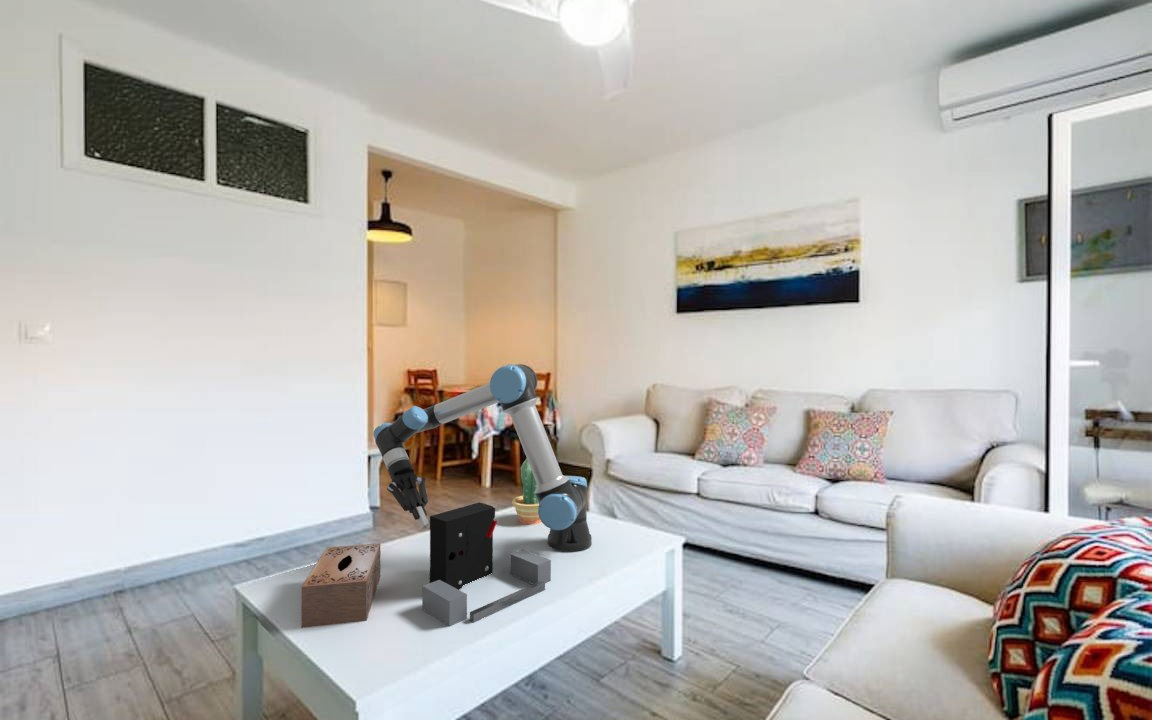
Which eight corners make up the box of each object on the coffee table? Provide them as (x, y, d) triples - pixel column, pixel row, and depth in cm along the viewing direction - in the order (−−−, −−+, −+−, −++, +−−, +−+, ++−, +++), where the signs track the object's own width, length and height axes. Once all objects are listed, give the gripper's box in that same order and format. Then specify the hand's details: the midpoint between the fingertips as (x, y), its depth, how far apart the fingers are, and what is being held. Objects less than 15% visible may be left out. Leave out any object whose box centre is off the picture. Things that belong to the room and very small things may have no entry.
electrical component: (474, 566, 159) (474, 501, 159) (497, 575, 153) (497, 507, 153) (425, 585, 146) (425, 514, 145) (447, 596, 139) (447, 522, 139)
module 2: (522, 569, 157) (522, 549, 157) (550, 580, 149) (550, 560, 149) (510, 574, 153) (510, 553, 153) (538, 586, 145) (538, 565, 145)
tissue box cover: (366, 621, 126) (366, 580, 126) (301, 628, 123) (301, 586, 123) (380, 577, 151) (380, 543, 151) (326, 582, 148) (326, 547, 148)
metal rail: (541, 587, 144) (541, 580, 144) (545, 589, 143) (545, 582, 143) (469, 620, 127) (469, 612, 127) (473, 622, 126) (473, 614, 126)
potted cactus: (536, 529, 192) (536, 462, 192) (503, 522, 200) (503, 457, 200) (558, 518, 206) (558, 455, 205) (526, 512, 214) (527, 451, 213)
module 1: (439, 602, 136) (439, 579, 136) (466, 618, 127) (466, 594, 127) (422, 609, 132) (422, 585, 132) (449, 626, 124) (449, 601, 124)
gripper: (412, 468, 179) (438, 528, 168) (375, 474, 169) (401, 538, 158) (420, 455, 175) (448, 515, 164) (383, 461, 166) (410, 525, 154)
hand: (425, 526), depth 161 cm, fingers closed
